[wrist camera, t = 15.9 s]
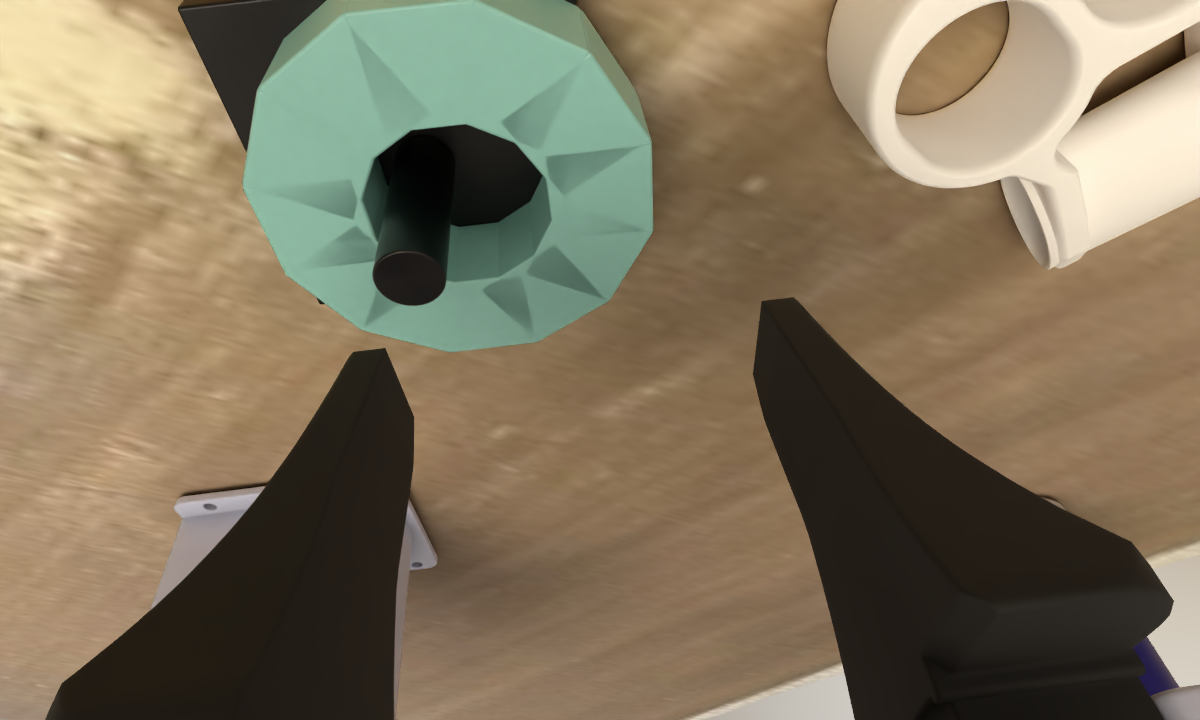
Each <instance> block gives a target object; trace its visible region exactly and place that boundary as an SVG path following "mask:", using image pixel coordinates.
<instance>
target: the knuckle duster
mask: <svg viewBox="0 0 1200 720" xmlns="http://www.w3.org/2000/svg"><path fill="white" fill-rule="evenodd" d="M1000 1H1007V4H1008V8H1009V17H1010V20H1009V29H1008V34H1007V38H1006V41H1005V44H1004V46H1003V49H1002V51H1001V53H1000V55H999V57H998V59H997V60H996V62H995V64H994V65H993V67H992V68H991V69H990V71H989V72H988V73H987V74H986V76H985V77H984V78H983V79H982V80H981V81H980V82H979V83H978V84H977V85H976V86H975V87H974V88H973V89H972V90H971V91H970V92H968V93H967V94H966V95H964V96H963V97H962V98H960V99H959V100H957V101H956V102H954V103H952V104H950V105H948V106H946V107H944V108H942V109H940V110H937V111H934V112H931V113H927V114H922V115H902V114H897V113H895V107H896V99H897V94H898V91H899V88H900V85H901V82H902V80H903V78H904V76H905V74H906V72H907V70H908V68H909V66H910V65H911V63H912V62H913V60H914V59H915V57H916V56H917V55H918V53H919V52H920V51H921V50H922V48H923V47H924V46H925V45H926V44H927V43H928V42H929V41H930V40H931V39H932V38H933V37H934V36H935V35H936V34H937V33H938V32H939V31H941V30H942V29H943V28H944V27H946V26H947V25H948V24H950V23H951V22H952V21H954V20H955V19H957V18H959V17H960V16H962V15H964V14H966V13H968V12H970V11H972V10H974V9H976V8H979V7H981V6H984V5H987V4H991V3H995V2H1000ZM1183 30H1184V41H1185V56H1186V59H1184V60H1182V61H1180V62H1178V63H1177V64H1175V65H1173V66H1171V67H1169V68H1168V69H1166V70H1164V71H1162V72H1160V73H1158V74H1157V75H1155V76H1153V77H1151V78H1149V79H1148V80H1146V81H1144V82H1142V83H1140V84H1139V85H1137V86H1135V87H1133V88H1131V89H1129V90H1128V91H1126V92H1124V93H1122V94H1120V95H1119V96H1117V97H1115V98H1113V99H1111V100H1110V101H1108V102H1106V103H1104V104H1102V105H1100V106H1099V107H1097V108H1095V109H1093V110H1091V111H1090V112H1088V113H1086V114H1084V115H1082V116H1081V114H1082V113H1083V111H1084V110H1085V108H1086V106H1087V105H1088V103H1089V101H1090V99H1091V97H1092V95H1093V93H1094V91H1095V89H1096V88H1097V87H1098V85H1099V84H1100V83H1101V81H1102V80H1103V79H1104V78H1105V77H1106V76H1107V75H1109V74H1110V73H1111V72H1112V71H1114V70H1115V69H1116V68H1118V67H1120V66H1121V65H1123V64H1125V63H1127V62H1128V61H1130V60H1132V59H1134V58H1135V57H1137V56H1139V55H1141V54H1143V53H1144V52H1146V51H1148V50H1150V49H1151V48H1153V47H1155V46H1157V45H1159V44H1160V43H1162V42H1164V41H1166V40H1167V39H1169V38H1171V37H1173V36H1175V35H1176V34H1178V33H1180V32H1182V31H1183ZM827 64H828V71H829V76H830V80H831V83H832V86H833V89H834V91H835V93H836V95H837V97H838V99H839V101H840V102H841V104H842V105H843V107H844V108H845V109H846V111H847V112H848V114H849V115H850V116H851V118H852V119H853V121H854V122H855V123H856V125H857V126H858V128H859V129H860V130H861V132H862V133H863V134H864V136H865V137H866V139H867V140H868V141H869V143H870V144H871V146H872V147H873V148H874V150H875V151H876V152H877V154H878V155H879V157H880V158H881V159H882V160H883V161H884V162H885V164H886V165H888V166H889V167H890V168H891V169H892V170H893V171H895V172H896V173H897V174H899V175H901V176H902V177H904V178H906V179H908V180H910V181H913V182H915V183H918V184H921V185H925V186H930V187H937V188H964V187H972V186H978V185H982V184H986V183H990V182H994V181H997V180H1000V181H1001V186H1002V189H1003V193H1004V196H1005V199H1006V202H1007V204H1008V207H1009V210H1010V212H1011V214H1012V217H1013V219H1014V221H1015V223H1016V226H1017V228H1018V230H1019V232H1020V234H1021V236H1022V238H1023V240H1024V242H1025V244H1026V245H1027V247H1028V249H1029V250H1030V252H1031V254H1032V255H1033V256H1034V258H1035V259H1036V260H1037V262H1038V263H1039V264H1040V265H1041V266H1042V267H1043V268H1044V269H1046V270H1048V269H1051V268H1053V267H1056V268H1063V267H1065V266H1067V265H1069V264H1071V263H1074V262H1076V261H1078V260H1079V259H1080V258H1081V257H1082V256H1083V255H1084V253H1085V252H1086V251H1088V250H1090V249H1092V248H1095V247H1097V246H1099V245H1101V244H1103V243H1105V242H1107V241H1109V240H1111V239H1113V238H1116V237H1118V236H1120V235H1122V234H1124V233H1126V232H1128V231H1130V230H1132V229H1134V228H1136V227H1139V226H1141V225H1143V224H1145V223H1147V222H1149V221H1151V220H1153V219H1155V218H1157V217H1159V216H1162V215H1164V214H1166V213H1168V212H1170V211H1172V210H1174V209H1176V208H1178V207H1180V206H1182V205H1184V204H1187V203H1189V202H1191V201H1193V200H1195V199H1197V198H1199V197H1200V0H837V3H836V6H835V8H834V12H833V15H832V18H831V23H830V27H829V33H828V41H827ZM1080 116H1081V117H1080Z"/></svg>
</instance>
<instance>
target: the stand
mask: <svg viewBox="0 0 1200 720" xmlns="http://www.w3.org/2000/svg"><path fill="white" fill-rule="evenodd" d="M325 1H326V0H184V1H183V2H182V3H181V4H180V6H179V7H178V11H179V13H180V15H181V17H182V19H183V22H184V24H185V26H186V28H187V30H188V32H189V34H190V36H191V38H192V40H193V42H194V44H195V46H196V48H197V51H198V53H199V55H200V57H201V59H202V61H203V63H204V65H205V67H206V69H207V71H208V73H209V75H210V78H211V80H212V82H213V84H214V86H215V88H216V90H217V92H218V94H219V96H220V98H221V100H222V102H223V104H224V107H225V109H226V111H227V113H228V115H229V117H230V119H231V121H232V123H233V125H234V127H235V129H236V131H237V134H238V136H239V138H240V140H241V142H242V144H243V146H244V148H245V150H246V152H247V149H248V143H249V137H250V130H251V124H252V118H253V111H254V105H255V99H256V92H257V89H258V87H259V85H260V83H261V81H262V80H263V78H264V76H265V74H266V72H267V70H268V68H269V66H270V64H271V62H272V60H273V58H274V56H275V55H276V53H277V51H278V49H279V47H280V45H281V43H282V41H283V39H284V38H285V37H286V36H287V35H288V34H290V33H291V32H292V31H293V30H294V29H295V28H296V27H297V26H299V25H300V24H301V23H302V22H303V21H304V20H305V19H306V18H307V17H309V16H310V15H311V14H312V13H313V12H314V11H315V10H316V9H318V8H319V7H320V6H321V5H322V4H323V3H324V2H325ZM565 1H567V2H569V3H571V4H573V5H575V6H577V0H565ZM378 158H379V161H380V164H381V167H382V170H383V173H384V177H385V180H386V183H387V185H388V186H389V189H388V195H387V200H386V205H385V210H384V215H383V220H382V225H381V230H380V236H379V241H378V246H377V251H376V256H375V261H374V266H373V271H372V277H373V281H374V284H375V286H376V288H377V289H378V291H379V292H380V293H381V294H382V295H383V296H384V297H386V298H387V299H389V300H391V301H393V302H395V303H398V304H401V305H407V306H419V305H424V304H428V303H430V302H432V301H434V300H435V299H437V298H438V297H439V296H440V295H441V294H442V292H443V291H444V289H445V286H446V280H447V267H448V254H449V242H450V229H451V225H454V226H458V227H462V226H471V225H480V224H489V223H497V222H500V221H501V220H503V219H504V218H506V217H507V216H509V215H510V214H512V213H513V212H515V211H516V210H518V209H520V208H521V207H523V206H524V205H526V204H527V203H529V202H530V201H531V199H532V197H533V195H534V193H535V191H536V189H537V187H538V185H539V182H540V180H541V178H542V176H543V175H542V174H541V173H540V171H539V170H538V169H537V168H536V167H535V166H534V165H533V163H532V162H531V161H530V160H529V159H528V158H527V156H526V155H525V154H524V153H523V152H522V151H521V149H520V148H519V147H518V146H517V145H516V144H515V143H514V142H511V141H509V140H506V139H503V138H501V137H498V136H496V135H493V134H490V133H488V132H485V131H483V130H480V129H477V128H475V127H472V126H469V125H467V124H464V125H455V126H446V127H437V128H428V129H419V130H411V131H410V132H409V133H407V134H406V135H405V136H403V137H402V138H401V139H399V140H398V141H397V142H395V143H394V144H393V145H392V146H390V147H389V148H388V149H386V150H385V151H384V152H382V153H381V154H380V155H378ZM317 300H318V302H319V303H320V304H325V303H324V302H322V301H321V300H320V299H318V298H317Z"/></svg>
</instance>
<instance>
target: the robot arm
mask: <svg viewBox="0 0 1200 720" xmlns="http://www.w3.org/2000/svg"><path fill="white" fill-rule="evenodd" d="M753 376H754V380H755V384H756V388H757V393H758V397H759V401H760V405H761V408H762V412H763V416H764V420H765V422H766V425H767V428H768V430H769V433H770V436H771V438H772V441H773V443H774V446H775V448H776V451H777V454H778V456H779V459H780V461H781V464H782V466H783V469H784V471H785V474H786V476H787V479H788V481H789V484H790V486H791V489H792V492H793V494H794V497H795V499H796V502H797V504H798V507H799V509H800V512H801V514H802V517H803V520H804V523H805V526H806V529H807V531H808V534H809V537H810V541H811V545H812V548H813V552H814V555H815V559H816V563H817V566H818V570H819V573H820V577H821V581H822V584H823V588H824V592H825V596H826V600H827V604H828V607H829V611H830V615H831V619H832V623H833V627H834V631H835V635H836V639H837V644H838V648H839V652H840V656H841V660H842V664H843V669H844V673H845V677H846V681H847V686H848V691H849V695H850V700H851V704H852V709H853V714H854V718H855V720H1200V685H1194V686H1187V687H1179V688H1174V689H1169V690H1165V691H1162V692H1159V693H1156V694H1154V695H1152V696H1150V695H1149V693H1148V692H1147V690H1146V689H1145V687H1144V685H1143V684H1142V682H1141V680H1140V679H1139V676H1143V675H1144V674H1145V673H1146V670H1145V666H1144V664H1143V663H1142V661H1141V660H1140V658H1139V656H1138V655H1137V653H1136V652H1135V650H1134V647H1135V646H1136V645H1137V644H1139V643H1140V642H1141V641H1142V640H1143V639H1144V638H1146V637H1147V636H1148V635H1149V634H1150V633H1152V632H1153V631H1154V630H1155V629H1156V628H1157V627H1159V626H1160V625H1161V624H1162V623H1163V622H1164V621H1165V620H1166V619H1167V617H1168V616H1169V615H1170V613H1171V610H1172V606H1173V602H1174V601H1173V599H1172V597H1171V596H1170V595H1169V593H1168V592H1167V590H1166V589H1165V587H1164V586H1163V584H1162V583H1161V581H1160V580H1159V578H1158V577H1157V575H1156V574H1155V572H1154V571H1153V569H1152V568H1151V566H1150V565H1149V563H1148V562H1147V561H1146V560H1145V558H1144V557H1143V556H1142V555H1141V553H1140V552H1139V551H1138V550H1137V548H1136V547H1135V546H1134V545H1133V543H1132V542H1130V541H1128V540H1126V539H1124V538H1122V537H1120V536H1118V535H1116V534H1114V533H1111V532H1109V531H1107V530H1105V529H1103V528H1101V527H1099V526H1097V525H1095V524H1093V523H1090V522H1088V521H1086V520H1084V519H1082V518H1080V517H1078V516H1076V515H1074V514H1072V513H1070V512H1068V511H1066V510H1064V509H1062V508H1060V507H1058V506H1056V505H1054V504H1053V503H1051V502H1049V501H1047V500H1045V499H1043V498H1042V497H1040V496H1038V495H1036V494H1034V493H1032V492H1030V491H1029V490H1027V489H1025V488H1023V487H1022V486H1020V485H1018V484H1016V483H1015V482H1013V481H1011V480H1010V479H1008V478H1006V477H1005V476H1003V475H1002V474H1000V473H998V472H997V471H995V470H994V469H992V468H990V467H989V466H987V465H986V464H984V463H982V462H981V461H979V460H978V459H976V458H974V457H973V456H971V455H970V454H968V453H967V452H965V451H964V450H962V449H961V448H959V447H958V446H956V445H955V444H953V443H952V442H951V441H949V440H948V439H947V438H945V437H944V436H942V435H941V434H940V433H938V432H937V431H936V430H934V429H933V428H932V427H930V426H929V425H928V424H926V423H925V422H924V421H923V420H921V419H920V418H919V417H918V416H916V415H915V414H914V413H913V412H911V411H910V410H909V409H908V408H906V407H905V406H904V405H903V404H902V403H901V402H899V401H898V400H897V399H896V398H895V397H894V396H893V395H891V394H890V393H889V392H888V391H887V390H886V389H884V388H883V387H882V386H881V385H880V384H879V383H878V382H877V381H876V380H875V379H873V378H872V377H871V376H870V375H869V374H868V373H867V372H866V371H865V370H864V369H863V368H862V367H861V366H860V365H859V364H858V363H857V362H856V361H855V360H854V359H853V358H852V357H851V356H849V354H848V353H847V352H846V351H845V350H844V349H843V348H842V347H841V346H840V345H839V344H838V343H837V342H836V341H835V340H834V339H833V338H832V337H831V336H830V335H829V334H828V333H827V332H826V331H825V330H824V329H823V328H822V327H821V326H820V324H819V323H818V322H817V321H816V320H815V319H814V318H813V317H812V316H811V315H810V314H809V313H808V311H807V310H806V309H805V308H804V307H803V306H802V305H801V304H800V303H799V302H798V301H797V300H796V299H795V298H794V297H792V298H784V299H776V300H768V301H762V304H761V312H760V321H759V329H758V337H757V345H756V354H755V362H754V370H753ZM413 461H414V416H413V413H412V411H411V409H410V406H409V404H408V401H407V399H406V397H405V394H404V392H403V390H402V387H401V385H400V382H399V380H398V378H397V375H396V373H395V370H394V368H393V366H392V363H391V361H390V358H389V356H388V354H387V351H386V349H385V348H382V349H374V350H366V351H358V352H353V353H352V354H351V355H350V357H349V358H348V360H347V362H346V363H345V365H344V367H343V368H342V370H341V372H340V374H339V375H338V377H337V379H336V380H335V382H334V384H333V385H332V387H331V389H330V391H329V392H328V394H327V396H326V397H325V399H324V400H323V402H322V404H321V405H320V407H319V409H318V410H317V412H316V414H315V415H314V417H313V418H312V420H311V421H310V423H309V424H308V426H307V428H306V429H305V431H304V432H303V434H302V435H301V437H300V438H299V440H298V442H297V443H296V445H295V446H294V447H293V449H292V450H291V452H290V453H289V455H288V456H287V457H286V459H285V460H284V462H283V463H282V464H281V466H280V467H279V469H278V470H277V471H276V473H275V474H274V476H273V477H272V478H271V480H270V481H269V483H268V484H267V485H266V486H262V487H254V488H246V489H238V490H230V491H222V492H214V493H206V494H198V495H190V496H183V497H180V498H178V499H177V500H176V502H175V505H174V509H175V511H176V512H177V513H178V514H179V515H180V516H181V517H182V518H183V519H182V521H181V524H180V526H179V529H178V532H177V535H176V538H175V541H174V543H173V546H172V549H171V552H170V555H169V557H168V560H167V563H166V566H165V569H164V572H163V574H162V577H161V580H160V583H159V586H158V589H157V591H156V594H155V597H154V600H153V603H152V605H151V608H150V611H149V612H148V613H147V614H146V615H144V616H143V617H142V618H141V619H140V620H139V621H138V622H137V623H136V624H134V625H133V626H132V627H131V628H130V629H129V630H127V631H126V632H125V633H124V634H123V635H122V636H120V637H119V638H118V639H117V640H115V641H114V642H113V643H112V644H111V645H109V646H108V647H107V648H106V649H104V650H103V651H102V652H101V653H99V654H98V655H97V656H96V657H94V658H93V659H92V660H91V661H90V662H88V663H87V664H86V665H85V666H83V667H82V668H81V669H80V670H78V671H77V672H76V673H75V674H73V675H72V676H71V677H69V678H68V679H67V680H66V681H64V682H63V683H62V684H61V686H60V688H59V690H58V692H57V695H56V697H55V699H54V701H53V703H52V705H51V707H50V710H49V712H48V715H47V717H46V719H45V720H397V719H396V709H397V698H398V688H399V677H400V667H401V656H402V645H403V635H404V624H405V613H406V603H407V592H408V581H409V571H410V570H417V569H425V568H431V567H434V566H435V565H436V564H437V555H436V552H435V550H434V548H433V546H432V544H431V542H430V540H429V538H428V536H427V534H426V532H425V530H424V528H423V526H422V524H421V522H420V520H419V518H418V516H417V514H416V512H415V510H414V508H413V506H412V504H411V501H410V499H409V494H410V487H411V480H412V472H413Z"/></svg>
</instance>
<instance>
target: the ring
mask: <svg viewBox="0 0 1200 720" xmlns="http://www.w3.org/2000/svg"><path fill="white" fill-rule="evenodd" d="M464 124H467V125H469V126H472V127H475V128H477V129H480V130H483V131H485V132H488V133H490V134H493V135H496V136H498V137H501V138H503V139H506V140H509V141H511V142H514V143H515V144H516V145H517V146H518V147H519V148H520V149H521V151H522V152H523V153H524V154H525V155H526V156H527V158H528V159H529V160H530V161H531V162H532V163H533V165H534V166H535V167H536V168H537V169H538V170H539V171H540V173H541V174H542V175H543V176H542V178H541V180H540V182H539V185H538V187H537V189H536V191H535V193H534V195H533V197H532V199H531V201H530V202H529V203H527V204H526V205H524V206H523V207H521V208H520V209H518V210H516V211H515V212H513V213H512V214H510V215H509V216H507V217H506V218H504V219H503V220H501V221H500V222H497V223H489V224H480V225H471V226H462V227H458V226H454V225H451V229H450V242H449V254H448V267H447V280H446V286H445V289H444V291H443V292H442V294H441V295H440V296H439V297H438V298H437V299H435V300H434V301H432V302H430V303H428V304H424V305H419V306H407V305H401V304H398V303H395V302H393V301H391V300H389V299H387V298H386V297H384V296H383V295H382V294H381V293H380V292H379V291H378V289H377V288H376V286H375V284H374V281H373V277H372V271H373V266H374V261H375V256H376V251H377V246H378V241H379V236H380V230H381V225H382V220H383V215H384V210H385V205H386V200H387V195H388V189H389V186H388V185H387V183H386V180H385V177H384V173H383V170H382V167H381V164H380V161H379V158H378V155H380V154H381V153H382V152H384V151H385V150H386V149H388V148H389V147H390V146H392V145H393V144H394V143H395V142H397V141H398V140H399V139H401V138H402V137H403V136H405V135H406V134H407V133H409V132H410V131H411V130H419V129H428V128H437V127H446V126H455V125H464ZM242 184H243V190H244V192H245V194H246V196H247V198H248V200H249V202H250V204H251V206H252V208H253V210H254V212H255V214H256V216H257V218H258V220H259V222H260V224H261V226H262V228H263V230H264V232H265V234H266V236H267V238H268V240H269V242H270V244H271V246H272V248H273V250H274V252H275V254H276V256H277V258H278V260H279V262H280V264H281V266H282V268H283V270H284V272H285V274H286V275H287V276H288V277H290V278H291V279H292V280H294V281H295V282H296V283H298V284H299V285H300V286H302V287H303V288H305V289H306V290H307V291H309V292H310V293H311V294H313V295H314V296H315V297H317V298H318V299H320V300H321V301H322V302H324V303H325V304H326V305H328V306H329V307H330V308H332V309H333V310H335V311H336V312H337V313H339V314H340V315H341V316H343V317H344V318H345V319H347V320H348V321H350V322H351V323H352V324H354V325H355V326H356V327H358V328H359V329H361V330H363V331H367V332H371V333H375V334H379V335H383V336H387V337H390V338H394V339H398V340H402V341H406V342H410V343H414V344H418V345H422V346H426V347H430V348H434V349H438V350H442V351H446V352H458V351H467V350H475V349H484V348H492V347H501V346H509V345H518V344H526V343H534V342H538V341H540V340H542V339H544V338H545V337H547V336H549V335H551V334H552V333H554V332H556V331H558V330H559V329H561V328H563V327H565V326H566V325H568V324H570V323H572V322H573V321H575V320H577V319H579V318H580V317H582V316H584V315H586V314H587V313H589V312H591V311H593V310H594V309H596V308H598V307H600V306H601V305H603V304H605V303H607V302H608V301H609V300H610V299H611V297H612V296H613V294H614V292H615V291H616V289H617V288H618V286H619V285H620V283H621V281H622V280H623V278H624V277H625V275H626V273H627V272H628V270H629V269H630V267H631V266H632V264H633V262H634V261H635V259H636V258H637V256H638V254H639V253H640V251H641V250H642V248H643V247H644V245H645V243H646V242H647V240H648V239H649V237H650V236H651V234H652V232H653V180H652V141H651V138H650V135H649V131H648V128H647V124H646V121H645V118H644V114H643V111H642V108H641V104H640V101H639V98H638V95H637V92H636V90H635V88H634V87H633V85H632V84H631V82H630V81H629V79H628V78H627V76H626V75H625V73H624V72H623V70H622V69H621V67H620V66H619V64H618V63H617V61H616V60H615V58H614V57H613V55H612V54H611V52H610V51H609V49H608V48H607V46H606V45H605V43H604V42H603V40H602V39H601V37H600V36H599V34H598V33H597V31H596V30H595V28H594V27H593V25H592V24H591V22H590V21H589V19H588V18H587V16H586V15H585V13H584V12H583V11H582V10H581V9H579V7H578V6H575V5H573V4H571V3H569V2H567V1H565V0H326V1H325V2H324V3H323V4H322V5H321V6H320V7H319V8H318V9H316V10H315V11H314V12H313V13H312V14H311V15H310V16H309V17H307V18H306V19H305V20H304V21H303V22H302V23H301V24H300V25H299V26H297V27H296V28H295V29H294V30H293V31H292V32H291V33H290V34H288V35H287V36H286V37H285V38H284V39H283V41H282V43H281V45H280V47H279V49H278V51H277V53H276V55H275V56H274V58H273V60H272V62H271V64H270V66H269V68H268V70H267V72H266V74H265V76H264V78H263V80H262V81H261V83H260V85H259V87H258V89H257V92H256V99H255V105H254V111H253V118H252V124H251V130H250V137H249V143H248V149H247V156H246V162H245V168H244V175H243V181H242Z"/></svg>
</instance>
